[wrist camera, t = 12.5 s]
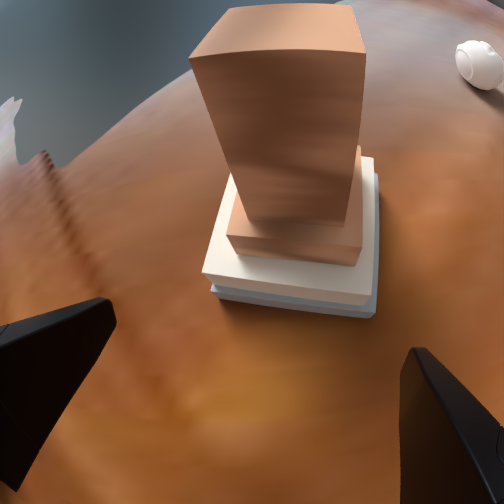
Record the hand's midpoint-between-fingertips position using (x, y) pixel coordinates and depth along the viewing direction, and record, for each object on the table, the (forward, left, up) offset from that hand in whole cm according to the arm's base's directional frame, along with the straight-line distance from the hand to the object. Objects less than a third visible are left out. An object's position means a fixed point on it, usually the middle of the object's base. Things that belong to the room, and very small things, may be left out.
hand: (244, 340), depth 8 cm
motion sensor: (-24, -37, -13) cm, 46 cm away
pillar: (0, -9, -8) cm, 12 cm away
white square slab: (0, -9, -11) cm, 14 cm away
